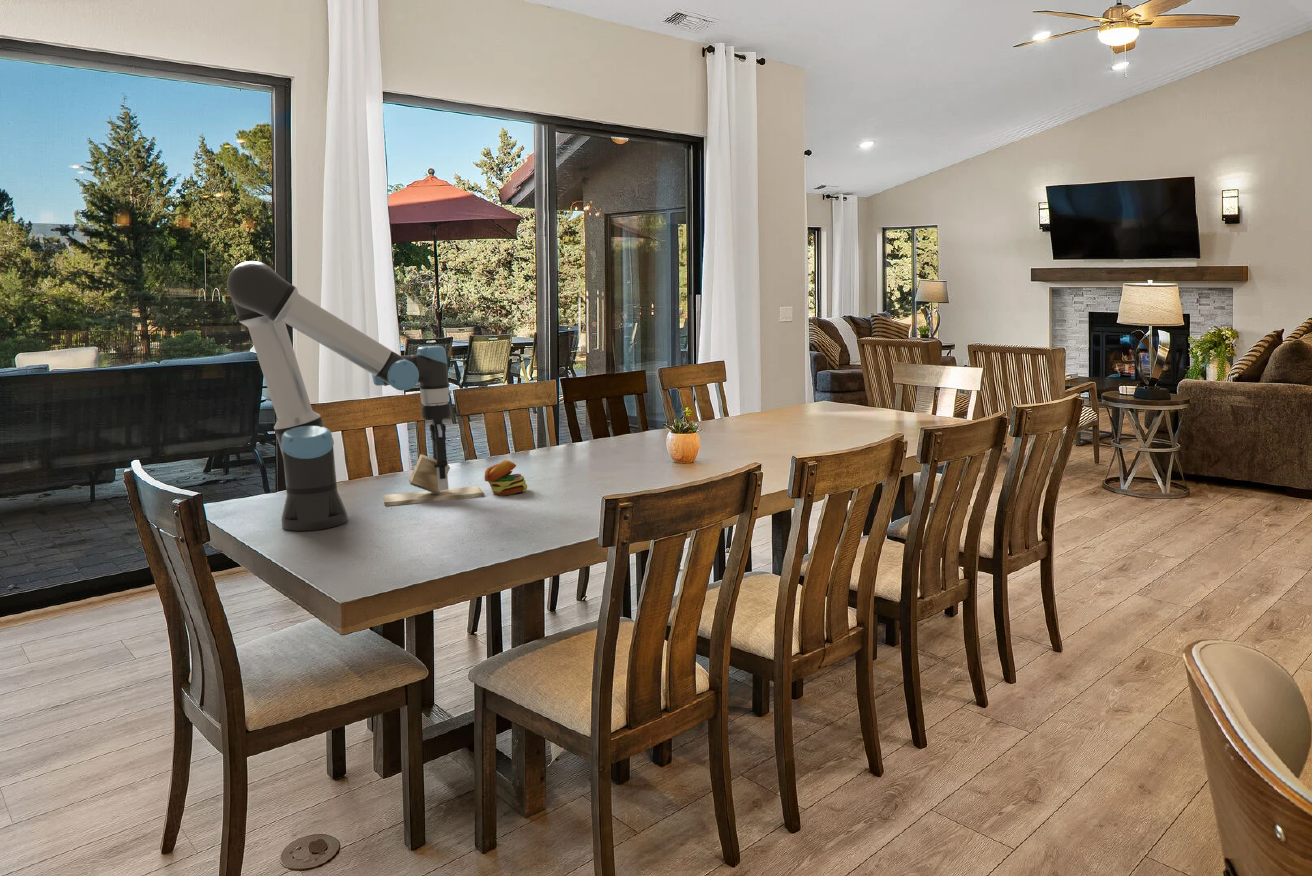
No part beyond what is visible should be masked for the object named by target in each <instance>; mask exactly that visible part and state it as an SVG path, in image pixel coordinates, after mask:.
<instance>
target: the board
mask: <svg viewBox="0 0 1312 876" xmlns="http://www.w3.org/2000/svg"><path fill="white" fill-rule="evenodd" d="M448 489H449V490H442V491H440V493H439V495H438V494H435V493H432V492H430V491H427V490H423V491H414V492H413V491H412V492H404V493H393V494H384V495H382V499H383V504H384V506H385V507H386V506H387V507H388V506H399V505H407V504H408V505H409V504H418V503H429V502H438V501H447V500H460V499H470V498H480V497H484V495H485V494H484V491H483V490H482V488H481V487H480V486H479V485H476V486H474V485H473V486H467V487H466V486H465V487H457V488H456V487H455V488H448Z"/></svg>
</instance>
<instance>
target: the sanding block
mask: <svg viewBox="0 0 1312 876" xmlns="http://www.w3.org/2000/svg"><path fill="white" fill-rule="evenodd" d="M436 464H437V460H435V459H434V458H433V457H430V456H427V455H425V454H422V453H421V454H419V457H418V459H417V461H416V463H415V466H414V469H413V470H412V473H411V475H410V478H409V480H408V481H409V485H410V486H414V487H416V488H420V489H422V490H423V491H430V492H432V493H435V494H438V495H439V493H440V491H438V482H437V470H436V468H434V465H436ZM450 469H451V466H450V465H449V464H447V475H448V474H449V472H450Z"/></svg>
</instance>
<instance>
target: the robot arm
mask: <svg viewBox="0 0 1312 876" xmlns="http://www.w3.org/2000/svg"><path fill="white" fill-rule="evenodd" d="M226 285H227V286H226V287H227V292H228V294H229V296H230V298H231V301H232V304H233V307H234V311H235V313H236V315H237V320H238V322H239V323H240V324H241V325H243V326H245V327H247V329H248V331H249V335H250V338H251V342H252V344H253V348H254V351H255V354H256V356H257V359H258V363H259V366H260V370H261V371H262V372H261V373H262V375H263V377H264V380H265V384H266V388H267V390H268V394H269V397H270V399H271V403H272V406H273V410H274V412H275V415H276V418H277V419H276V420H277V421H276V422H275V424H274V426H273V429H274V432H275V436H276V439H277V442H278V445H279V449H280V452H281V455H282V461H283V469H284V470H283V471H284V479H285V489H286V498H285V502H284V506H283V511H282V514H281V526H282V527H281V528H283V529H284V530H286V531H295V532H307V531H310V532H311V531H317V530H318V531H319V530H325V529H328V528H329V529H331V528H333V527H337V526H340V525H342V524H345V523H346V522H347V521H348V513H347V510H346V507H345V505H344V503H343V500H342V498H341V496H340V494H339V492H338V485H337V484H338V483H337V474H336V472H337V471H336V464H335V451H334V444H335V442H334V441H335V440H334V437H333V434H332V431H331V430H330V429H329V428H327V427H325V425H324V422H323V419H322V417H321V414H320V413H317V412H316V411H314V410H313V407H312V405H311V401H310V399H309V394H308V392H307V389H306V386H305V382H304V379H303V377H302V376H303V375H302V373H301V370H300V366H299V363H298V360H297V357H296V354H295V350H294V347H293V344H292V340H291V337H290V334H289V331H288V328H287V326H290V327H292V328H293V329H295V330H297V331H298V332H300V333H301V334H303V335H304V336H307V337H309V338H310V339H312V340H313V341H316V342H317V343H319V344H320V345H322V346H324V347H325V348H327V349H328V350H331V351H333V352H334V353H336V354H337V355H339V356H341V357H342V358H344V359H346V360H347V361H349V362H350V363H352V364H354V365H357V366H358V367H359V368H362V369H363V370H364V371H366V372H368V373H369V374H371V376H372V377H371V378H372V383H373V385H375V386H384V387H387V386H390V387H392V388H393V389H396V390H397V391H409V390H411V389H413V388H414V387H415V386H416V385H417V384H419V392H420V393H419V395H420V403H421V404H422V405H421V416H422V419H424V420H427V421H428V420H431V423H430V424H429V432H430V438H431V442H432V454H433V455H432V458H433V459H435V460H437V464H436V465H434V468H436V470H437V482H438V491H442V490H449V489H450V488H449V478H448V474H447V464H448V460H447V459H448V457H447V445H446V441H447V438H446V431H447V428H446V427H447V426H446V424H445V423H443V419H449V418H450V417H451V416H452V409H451V404H450V403H449V402H450V395H451V394H452V390H451V389H449V371H448V370H449V369H448V361H447V352H446V348H445V347H444V346H442V345H426V346H424V345H423V346H418V348H417V349H416V354H415V353H414V354H411V355H409V354H408V355H400V354H398V353H396V352H395V351H392V349H390V348H388V347H387V346H385V345H383V344H382V343H380V342H379V341H377V340H375V339H373V338H372V337H370V336H369V335H367V334H365V333H364V332H362V331H360V330H359V329H357V328H356V327H354V326H352V325H350V324H349V323H347V322H345V321H344V320H342V319H341V318H340V317H337V316H336V315H334V314H332V313H331V312H330V311H328V310H326V309H325V308H323V307H321V306H319V305H318V304H316V303H314V302H313V301H311V300H310V299H308V298H306V297H305V296H303V295H301V294H300V293H299V290H298V288H297V287H296V286H295V285H293V284H291V283H290V282H288V281H287V280H286V279H284V278H283V277H282V276H280V275H279V274H278V273H277V272H276V271H275V270H274V269H273V268H272V267H270V266H269V265H267V264H266V263H264V262H261V261H257V260H256V261H255V260H249V261H243V262H240V263H239V264H237V265H236V266H234V268H232V270H231V271H230V273H229V274H228V277H227V281H226ZM448 465H449V464H448Z"/></svg>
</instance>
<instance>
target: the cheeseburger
mask: <svg viewBox="0 0 1312 876" xmlns="http://www.w3.org/2000/svg"><path fill="white" fill-rule="evenodd" d="M516 467H517V464H515V462H513V461H510V460H507V459H506V460H502V461H501V462H499V463H497V464H494V465H491V466H489V467H487V468H486V470H485V471H484V476H483V477H484V481H485V482H488V484H489V486H490V488H491V491H492V493H493V495H494V494H495V495H497V496H508V495H513V494H518V493H522V492H523V493H526V491H527V489H528V484H527V483H526V479H525V477H524V475H522V474H521V473H513V470H514V469H515V468H516ZM512 473H513V474H512Z"/></svg>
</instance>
